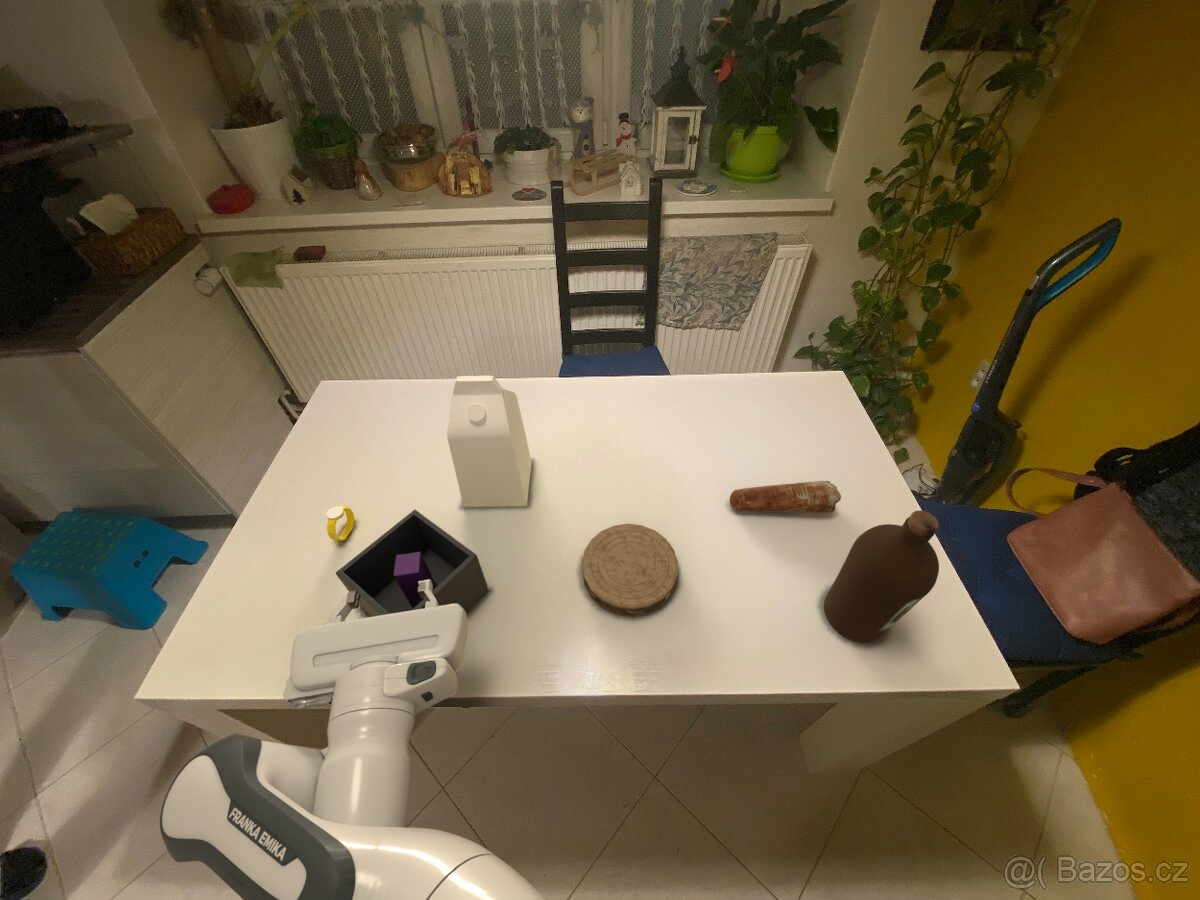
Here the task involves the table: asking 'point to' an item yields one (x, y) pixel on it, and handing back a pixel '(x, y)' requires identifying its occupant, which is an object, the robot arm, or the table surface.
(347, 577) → the waste bin
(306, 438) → the table surface
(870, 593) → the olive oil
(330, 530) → the watch
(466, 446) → the milk
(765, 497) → the bread
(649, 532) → the wood slice coaster
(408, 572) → the purple rectangular block
